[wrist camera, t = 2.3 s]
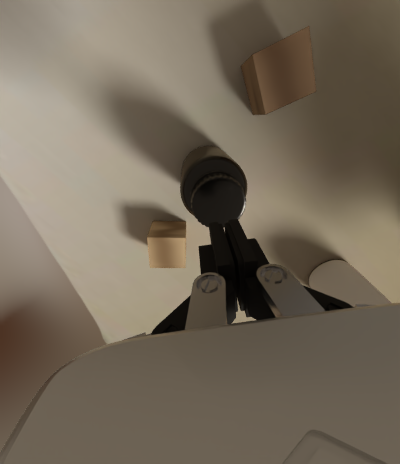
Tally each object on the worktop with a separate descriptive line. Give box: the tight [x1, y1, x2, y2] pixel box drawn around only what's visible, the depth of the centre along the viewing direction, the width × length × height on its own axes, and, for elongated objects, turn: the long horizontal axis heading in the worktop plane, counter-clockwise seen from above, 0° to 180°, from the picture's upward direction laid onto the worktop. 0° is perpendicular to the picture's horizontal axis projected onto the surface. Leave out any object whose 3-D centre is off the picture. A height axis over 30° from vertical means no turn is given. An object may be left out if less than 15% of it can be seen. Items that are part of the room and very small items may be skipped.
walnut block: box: [241, 26, 316, 115], centre depth 21 cm, size 5×5×5 cm
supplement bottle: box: [180, 146, 247, 227], centre depth 23 cm, size 7×7×12 cm
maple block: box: [147, 221, 186, 268], centre depth 31 cm, size 5×5×5 cm
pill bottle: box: [309, 260, 391, 307], centre depth 32 cm, size 8×8×15 cm
